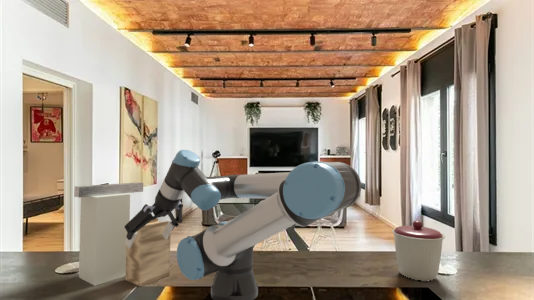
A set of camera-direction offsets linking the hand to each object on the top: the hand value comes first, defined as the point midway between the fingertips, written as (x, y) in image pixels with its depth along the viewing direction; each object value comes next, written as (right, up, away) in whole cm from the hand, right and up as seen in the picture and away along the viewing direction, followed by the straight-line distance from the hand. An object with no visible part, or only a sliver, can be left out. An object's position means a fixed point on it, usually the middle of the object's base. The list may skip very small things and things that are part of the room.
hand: (146, 241), depth 106 cm
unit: (-19, -15, +7) cm, 25 cm away
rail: (-17, +15, +10) cm, 25 cm away
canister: (+99, -17, +12) cm, 101 cm away
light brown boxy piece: (-2, -15, +7) cm, 17 cm away
